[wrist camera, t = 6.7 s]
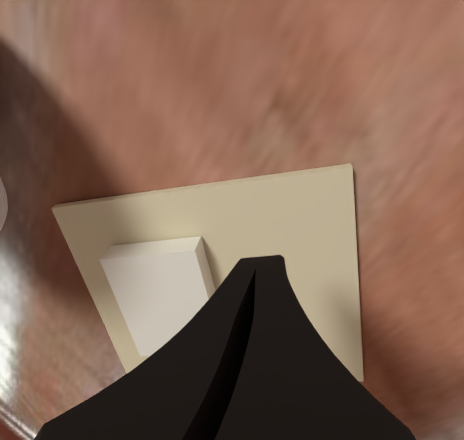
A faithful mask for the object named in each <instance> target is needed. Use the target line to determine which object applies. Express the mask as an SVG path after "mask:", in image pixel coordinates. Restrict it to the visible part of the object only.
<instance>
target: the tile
mask: <svg viewBox="0 0 464 440" xmlns="http://www.w3.org/2000/svg"><path fill="white" fill-rule="evenodd" d="M100 262H101V265H102V267H103V269H104V272H105V274H106V276H107V279H108V281H109V284H110V286H111V288H112V291H113V293H114V295H115V298H116V300H117V303H118V305H119V307H120V310H121V312H122V314H123V317H124V319H125V321H126V324H127V326H128V329H129V331H130V333H131V336H132V338H133V340H134V343H135V345H136V348H137V350H138V352H139V355H140V356H151V355H152V354H153V353H155V352H156V351H157V350H158V349H160V348H161V347H162V346H163V345H164V344H166V343H167V342H168V341H169V340H170V339H171V338H172V337H173V336H175V335H176V334H177V333H178V332H179V331H180V330H181V329H182V328H183V327H184V326H185V325H186V324H187V323H188V322H189V321H190V320H191V319H192V318H193V317H194V316H195V314H196V313H197V312H198V311H199V310H200V309H201V308H202V307H203V306H204V304H205V303H206V302H207V301H208V300H209V299H210V297H211V296H212V295H213V294H214V292H215V291H216V290H215V287H214V283H213V279H212V275H211V272H210V268H209V264H208V260H207V257H206V253H205V249H204V245H203V242H202V238H201V236H199V237H190V238H180V239H171V240H161V241H152V242H142V243H133V244H123V245H114V246H111V247H110V248H109V249H108V250H107V251H106V253H105V254H104V255H103V256H102V257H101V258H100Z"/></svg>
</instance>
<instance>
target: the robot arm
mask: <svg viewBox="0 0 464 440" xmlns="http://www.w3.org/2000/svg"><path fill="white" fill-rule="evenodd" d="M34 440H416V439H415V437H414V436H413V434H412V432H411V431H410V429H409V428H408V427H406V426H405V425H404V424H403V423H402V422H401V421H400V420H399V419H397V418H396V417H395V416H394V415H393V414H392V413H391V412H389V411H388V410H387V409H386V408H385V407H384V406H383V405H382V404H381V403H380V402H379V401H378V400H377V399H376V398H374V397H373V396H372V395H371V394H370V392H369V391H368V390H367V389H366V388H365V387H364V386H363V385H362V384H361V383H360V382H359V381H358V380H357V379H356V378H355V377H354V376H353V375H352V374H351V373H350V371H349V370H348V369H347V368H346V367H345V366H344V365H343V364H342V362H341V361H340V360H339V359H338V358H337V357H336V356H335V355H334V353H333V352H332V351H331V349H330V348H329V347H328V346H327V344H326V343H325V342H324V340H323V339H322V338H321V336H320V335H319V333H318V332H317V331H316V329H315V328H314V326H313V325H312V323H311V322H310V320H309V318H308V317H307V315H306V313H305V312H304V310H303V308H302V307H301V305H300V303H299V301H298V299H297V297H296V295H295V293H294V291H293V289H292V287H291V284H290V282H289V279H288V276H287V272H286V265H285V259H284V257H283V256H281V255H272V256H260V257H249V258H241V259H240V260H239V261H238V262H237V263H236V265H235V266H234V267H233V269H232V270H231V271H230V273H229V274H228V276H227V277H226V278H225V279H224V281H223V282H222V283H221V285H220V286H219V287H218V289H217V290H216V291H215V292H214V294H213V295H212V296H211V297H210V299H209V300H208V301H207V302H206V303H205V304H204V306H203V307H202V308H201V309H200V310H199V311H198V312H197V313H196V314H195V316H194V317H193V318H192V319H191V320H190V321H189V322H188V323H187V324H186V325H185V326H184V327H183V328H182V329H181V330H180V331H179V332H178V333H177V334H176V335H175V336H173V337H172V338H171V339H170V340H169V341H168V342H167V343H166V344H164V345H163V346H162V347H161V348H160V349H158V350H157V351H156V352H155V353H153V354H152V355H151V356H150V357H148V358H147V359H146V360H144V361H143V362H142V363H141V364H139V365H138V366H137V367H136V368H134V369H133V370H131V371H130V372H129V373H127V374H126V375H124V376H123V377H121V378H120V379H119V380H117V381H116V382H114V383H113V384H111V385H110V386H108V387H106V388H105V389H103V390H102V391H100V392H99V393H97V394H96V395H94V396H92V397H91V398H89V399H87V400H86V401H84V402H82V403H80V404H79V405H77V406H75V407H73V408H72V409H70V410H68V411H66V412H65V413H63V414H61V415H59V416H58V417H56V418H54V419H52V420H50V421H49V422H47V423H45V424H44V425H43V427H42V428H41V429H40V431H39V433H38V434H37V436H36V437H35V439H34Z"/></svg>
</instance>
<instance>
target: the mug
mask: <svg viewBox="0 0 464 440" xmlns="http://www.w3.org/2000/svg"><path fill="white" fill-rule="evenodd" d="M7 212H8V201H7V195H6V190H5V187H4V184H3V182H2V179H1V177H0V231H1V229H2V228H3V225H4V223H5V220H6V216H7Z"/></svg>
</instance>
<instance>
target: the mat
mask: <svg viewBox="0 0 464 440" xmlns="http://www.w3.org/2000/svg"><path fill="white" fill-rule="evenodd" d="M51 209H52V212H53V214H54V216H55V218H56V220H57V222H58V225H59V227H60V229H61V231H62V233H63V236H64V238H65V240H66V242H67V244H68V247H69V249H70V251H71V253H72V255H73V257H74V260H75V262H76V264H77V266H78V268H79V271H80V273H81V275H82V277H83V279H84V281H85V284H86V286H87V288H88V290H89V292H90V295H91V297H92V299H93V301H94V303H95V305H96V308H97V310H98V312H99V314H100V316H101V319H102V321H103V323H104V325H105V327H106V329H107V332H108V334H109V336H110V338H111V340H112V343H113V345H114V347H115V349H116V351H117V353H118V356H119V358H120V360H121V362H122V364H123V367H124V369H125V371H126V373H129V372H130V371H131V370H133V369H134V368H136V367H137V366H138V365H139V364H141V363H142V362H143V361H144V360H146V359H147V358H148V357H150V356H140V355H139V352H138V350H137V348H136V345H135V343H134V340H133V338H132V336H131V333H130V331H129V329H128V326H127V324H126V321H125V319H124V317H123V314H122V312H121V310H120V307H119V305H118V303H117V300H116V298H115V295H114V293H113V291H112V288H111V286H110V284H109V281H108V279H107V276H106V274H105V272H104V269H103V267H102V265H101V262H100V258H101V257H102V256H103V255H104V254H105V253H106V251H107V250H108V249H109V248H110V247H111V246H114V245H123V244H133V243H142V242H152V241H161V240H171V239H180V238H190V237H199V236H201V238H202V242H203V245H204V249H205V253H206V257H207V260H208V264H209V268H210V272H211V275H212V279H213V283H214V287H215V290H217V289H218V287H219V286H220V285H221V283H222V282H223V281H224V279H225V278H226V277H227V276H228V274H229V273H230V271H231V270H232V269H233V267H234V266H235V265H236V263H237V262H238V261H239V260H240V259H241V258H249V257H260V256H272V255H281V256H283V257H284V259H285V265H286V272H287V276H288V279H289V282H290V284H291V287H292V289H293V291H294V293H295V295H296V297H297V299H298V301H299V303H300V305H301V307H302V308H303V310H304V312H305V313H306V315H307V317H308V318H309V320H310V322H311V323H312V325H313V326H314V328H315V329H316V331H317V332H318V333H319V335H320V336H321V338H322V339H323V340H324V342H325V343H326V344H327V346H328V347H329V348H330V349H331V351H332V352H333V353H334V355H335V356H336V357H337V358H338V359H339V360H340V361H341V362H342V364H343V365H344V366H345V367H346V368H347V369H348V370H349V371H350V373H351V374H352V375H353V376H354V377H355V378H356V379H357V380H358V381H364V378H363V358H362V339H361V320H360V300H359V281H358V261H357V242H356V223H355V203H354V184H353V167H352V165H351V163H350V164H343V165H336V166H329V167H321V168H314V169H307V170H300V171H292V172H285V173H278V174H271V175H264V176H256V177H249V178H242V179H235V180H228V181H220V182H213V183H206V184H199V185H192V186H184V187H177V188H170V189H163V190H155V191H148V192H141V193H134V194H127V195H119V196H112V197H105V198H98V199H91V200H83V201H76V202H69V203H62V204H56V205H55V206H53V207H52V208H51Z"/></svg>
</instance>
